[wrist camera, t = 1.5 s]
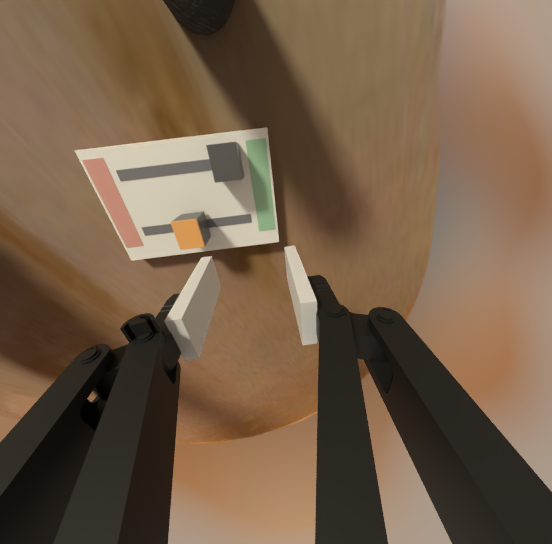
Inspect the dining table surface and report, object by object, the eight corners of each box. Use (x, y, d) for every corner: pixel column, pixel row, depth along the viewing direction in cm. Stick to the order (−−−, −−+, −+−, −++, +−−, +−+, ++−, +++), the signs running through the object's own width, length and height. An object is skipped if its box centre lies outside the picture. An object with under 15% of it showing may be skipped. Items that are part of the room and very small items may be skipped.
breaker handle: (189, 239, 28) (180, 250, 25) (181, 214, 27) (170, 222, 23) (211, 236, 28) (204, 247, 25) (204, 211, 27) (196, 219, 23)
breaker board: (138, 254, 31) (115, 273, 26) (87, 151, 25) (43, 149, 19) (278, 237, 32) (281, 252, 27) (266, 129, 25) (268, 122, 20)
